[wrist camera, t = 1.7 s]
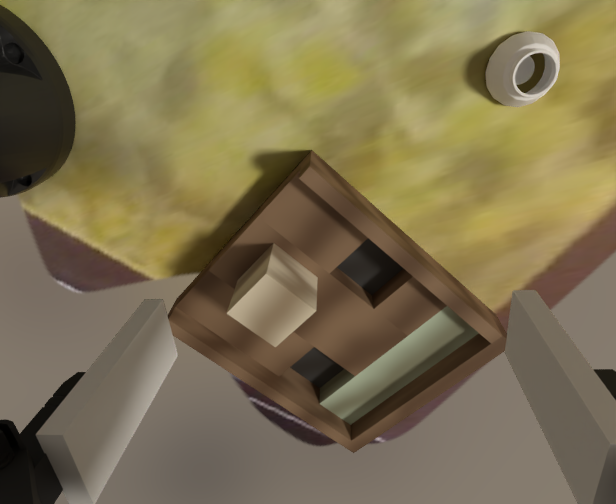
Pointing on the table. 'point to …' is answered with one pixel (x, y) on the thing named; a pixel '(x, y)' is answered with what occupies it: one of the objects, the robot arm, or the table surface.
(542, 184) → the table surface
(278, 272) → the maple cube
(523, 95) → the white tapered collar
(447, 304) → the box
